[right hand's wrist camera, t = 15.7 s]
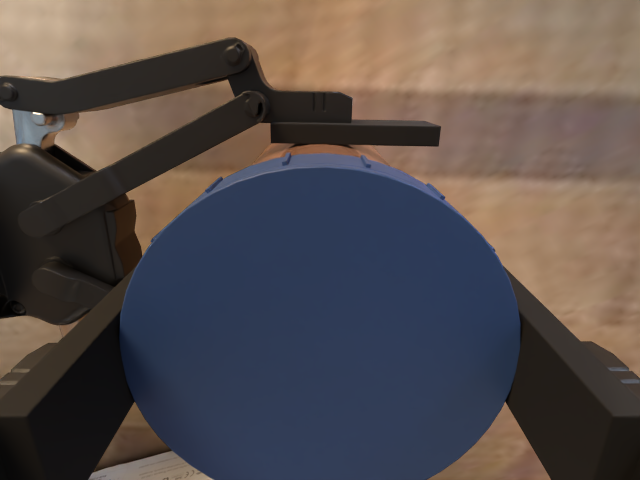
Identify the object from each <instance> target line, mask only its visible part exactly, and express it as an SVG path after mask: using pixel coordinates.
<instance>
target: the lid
mask: <svg viewBox="0 0 640 480" xmlns="http://www.w3.org/2000/svg"><path fill="white" fill-rule="evenodd" d="M151 242H152V243H151V244H150V246H149V247H148V248H147V250H146V252H145V253H144V255H143V257H142V258H141V260H140V262H139V263H138V265H137V266H136V268H135V270H134V273H133V275H132V278H131V280H130V283H129V285H128V287H127V290H126V293H125V298H124V302H123V306H122V310H121V317H120V331H119V342H120V351H121V357H122V362H123V367H124V372H125V376H126V381H127V384H128V386H129V389H130V391H131V394H132V396H133V399H134V401H135V403H136V404H137V406H138V408H139V410H140V411H141V413H142V415H143V417H144V418H145V420H146V421H147V422H148V424H149V425H150V426H151V428H152V429H153V430H154V432H155V433H156V434H157V435H158V437H159V438H160V439H161V440H162V441H163V442H164V443H165V444H166V445H167V446H168V447H169V448H170V449H171V450H172V451H173V452H174V453H175V454H177V455H178V456H179V457H180V458H182V459H183V460H184V461H185V462H187V463H188V464H189V465H191V466H192V467H194V468H195V469H197V470H198V471H200V472H202V473H203V474H205V475H206V476H208V477H210V478H212V479H214V480H427V479H428V478H430V477H432V476H434V475H436V474H437V473H439V472H441V471H442V470H444V469H445V468H447V467H448V466H449V465H451V464H452V463H453V462H455V461H456V460H458V459H459V458H460V457H461V456H462V455H463V454H465V453H466V452H467V451H468V450H469V449H470V448H471V447H472V446H473V445H474V444H475V443H476V442H477V441H478V440H479V439H480V438H481V436H482V435H483V434H484V433H485V432H486V431H487V430H488V428H489V427H490V426H491V424H492V423H493V421H494V420H495V418H496V417H497V415H498V414H499V412H500V411H501V409H502V407H503V405H504V403H505V400H506V398H507V396H508V394H509V392H510V390H511V387H512V384H513V381H514V377H515V372H516V367H517V362H518V357H519V352H520V326H521V325H520V318H519V312H518V306H517V301H516V297H515V294H514V291H513V288H512V285H511V282H510V279H509V277H508V275H507V273H506V271H505V269H504V267H503V266H502V264H501V262H500V260H499V258H498V256H497V255H496V253H495V249H494V248H493V247H492V246H491V245H490V244H489V243H488V242H487V241H486V240H485V238H484V237H483V236H482V235H481V234H480V233H479V232H478V231H477V230H476V229H475V228H474V227H473V226H472V225H471V224H470V223H469V222H468V221H467V220H466V219H465V218H464V217H463V216H462V215H461V214H460V213H459V212H458V211H457V210H456V209H455V208H453V207H452V206H451V205H450V204H449V203H448V202H447V201H446V200H445V196H443V195H442V194H441V193H440V192H439V191H438V190H437V189H436V188H434V187H433V186H432V185H431V184H429V183H428V184H427V185H425V184H424V183H422V182H421V181H419V180H417V179H415V178H413V177H411V176H410V175H408V174H406V173H404V172H402V171H400V170H398V169H395V168H393V167H390V166H387V165H385V164H382V163H379V162H377V161H372V160H368V159H367V157H366V156H365V155H361V158H360V157H355V156H350V155H339V154H329V153H318V154H298V155H292V156H291V153H286V155H285V157H280V158H274V159H271V160H268V161H265V162H261V163H258V164H255V165H252V166H249V167H247V168H245V169H243V170H240V171H238V172H236V173H234V174H232V175H230V176H228V177H226V178H224V179H223V178H222V177H220V178H218V179H217V180H216V181H215V182H214V183H213V184H211V185H210V186H209V187H208V188H207V189H206V190H205V192H204V193H203V194H202V195H200V196H199V197H198V198H197V199H196V200H195V201H194V202H192V203H191V204H190V205H189V206H188V207H187V208H186V209H185V210H184V211H182V212H181V213H180V214H179V215H178V216H177V217H176V218H175V219H174V220H172V221H171V222H170V223H169V224H168V225H167V226H166V227H165V228H164V229H162V230H161V231H160V232H159V233H158V234H157V235H156V236H155V237H154V238H152V240H151Z"/></svg>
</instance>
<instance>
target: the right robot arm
mask: <svg viewBox="0 0 640 480" xmlns="http://www.w3.org/2000/svg"><path fill="white" fill-rule="evenodd" d="M502 266H503V265H502ZM503 267H504V266H503ZM135 268H136V267H135ZM135 268H134V269H133V270H132V271H131V272H130V273H129V274H128V275H127V276H126V277H125V278H124V279H123V280H122V281H121V282H120V283H119V284H118V285H116V286H115V287H114V288H113V289H112V290H111V291H110V292H109V293H108V294H107V295H106V296H105V297H104V298H103V299H102V300H101V301H100V302H99V303H98V304H97V305H96V306H95V307H94V308H93V309H92V310H91V311H90V312H89V313H88V314H87V315H86V316H85V317H84V318H83V319H82V320H81V321H80V322H79V323H78V324H77V325H76V326H75V327H74V328H72V329H71V330H70V331H69V332H68V333H67V334H66V335H65V336H64V337H63V338H62V339H61V340H60V341H59V342H58V343H48V344H46V345H44V346H42V347H41V348H39V349H37V350H35V351H34V352H32V353H30V354H28V355H27V356H26V357H25V358H24V359H23V360H21V361H20V362H19V363H18V364H17V365H16V366H15V367H14V368H13V369H12V370H11V373H7V374H6V375H5V376H4V377H3V378H2V379H1V380H0V480H88V479H89V478H90V476H91V474H92V473H93V471H94V469H95V468H96V466H97V464H98V463H99V461H100V459H101V457H102V456H103V454H104V452H105V451H106V449H107V447H108V446H109V444H110V442H111V440H112V439H113V437H114V435H115V434H116V432H117V430H118V429H119V427H120V425H121V423H122V422H123V420H124V418H125V417H126V415H127V413H128V412H129V410H130V408H131V406H132V405H133V403H134V399H133V396H132V394H131V391H130V389H129V386H128V384H127V381H126V376H125V372H124V367H123V362H122V357H121V351H120V342H119V331H120V317H121V310H122V306H123V302H124V298H125V293H126V290H127V287H128V285H129V283H130V280H131V278H132V275H133V273H134V270H135ZM504 269H505V271H506V273H507V275H508V277H509V279H510V282H511V285H512V288H513V291H514V294H515V297H516V301H517V306H518V312H519V318H520V325H521V326H520V352H519V357H518V362H517V367H516V372H515V377H514V381H513V384H512V387H511V390H510V392H509V394H508V396H507V398H506V400H505V402H506V403H507V405H508V407H509V409H510V410H511V412H512V414H513V415H514V417H515V419H516V420H517V422H518V424H519V426H520V427H521V429H522V431H523V432H524V434H525V436H526V437H527V439H528V441H529V443H530V444H531V446H532V448H533V449H534V451H535V453H536V454H537V456H538V458H539V460H540V461H541V463H542V465H543V466H544V468H545V470H546V471H547V473H548V475H549V476H550V478H551V480H640V378H639V377H638V376H637V375H636V374H635V373H634V372H632V371H629V368H628V367H627V366H626V365H625V364H624V363H623V362H621V361H620V360H619V359H618V358H617V357H616V356H615V355H614V354H612V353H611V352H609V351H607V350H605V349H604V348H602V347H600V346H598V345H597V344H595V343H593V342H581V341H580V340H579V339H577V338H576V337H575V336H574V335H573V334H572V333H571V332H570V331H569V330H568V329H567V328H566V327H565V326H564V325H563V324H562V323H561V322H560V321H559V320H558V319H557V318H556V317H555V316H554V315H553V314H552V313H551V312H550V311H549V310H548V309H547V308H546V307H545V306H544V305H543V304H542V303H541V302H540V301H539V300H538V299H537V298H536V297H535V296H533V295H532V294H531V293H530V292H529V291H528V290H527V289H526V288H525V287H524V286H523V285H522V284H521V283H520V282H519V281H518V280H517V279H516V278H515V277H514V276H513V275H512V274H511V273H510V272H509V271H508V270H507V269H506V268H505V267H504Z"/></svg>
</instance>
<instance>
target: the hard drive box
mask: <svg viewBox="0 0 640 480" xmlns="http://www.w3.org/2000/svg"><path fill="white" fill-rule="evenodd" d="M88 480H214V479H212V478H210V477H208V476H206V475H205V474H203V473H202V472H200V471H198V470H197V469H195V468H194V467H192V466H191V465H189V464H188V463H187V462H185V461H184V460H183V459H182V458H180V457H179V456H178V455H177V454H175V453H174V452H173V451H170V452H166V453H162V454H158V455H155V456H151V457H148V458H144V459H140V460H136V461H133V462H129V463H125V464H119V465H116V466H113V467H108V468H105V469H102V470H99V471H97V472H93V473H92V474H91V476H90V478H89V479H88Z"/></svg>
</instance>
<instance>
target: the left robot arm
mask: <svg viewBox="0 0 640 480" xmlns="http://www.w3.org/2000/svg"><path fill="white" fill-rule="evenodd" d="M224 80H228V81H229V83H230V86H231V88H232V91H233V93H234V96H235V98H234V99H232V100H230V101H228V102H226V103H224V104H223V105H221V106H219V107H217V108H215V109H213V110H211V111H210V112H208V113H206V114H204V115H202V116H200V117H199V118H197V119H195V120H193V121H191V122H189V123H187V124H186V125H184V126H182V127H180V128H178V129H176V130H174V131H173V132H171V133H169V134H167V135H165V136H163V137H162V138H160V139H158V140H156V141H154V142H152V143H150V144H149V145H147V146H145V147H143V148H141V149H139V150H138V151H136V152H134V153H132V154H130V155H128V156H126V157H125V158H123V159H121V160H119V161H117V162H115V163H113V164H112V165H110V166H107V167H105V168H103V169H101V170H99V171H96V170H94V169H93V168H91V167H90V166H88V165H87V164H85V163H84V162H82V161H81V160H79V159H77V158H76V157H74V156H73V155H71V154H70V153H68V152H67V151H65V150H64V149H62V148H61V147H59V146H58V145H56V144H54V139H55V136H56V135H57V134H58V133H59V132H60V131H64V130H70V129H72V128H73V127H74V126H75V125H76V123H77V120H78V119H79V112H88V111H98V110H104V109H109V108H113V107H117V106H121V105H125V104H130V103H134V102H138V101H142V100H146V99H150V98H154V97H158V96H163V95H167V94H171V93H175V92H179V91H183V90H187V89H191V88H196V87H200V86H204V85H208V84H212V83H216V82H220V81H224ZM0 105H2V106H3V107H5V108H8V109H12V111H13V119H14V127H15V135H16V143H17V144H16V145H13V146H11V147H9V148H8V149H6V150H5V151H3V152H0V319H2V318H9V317H16V316H32V317H36V318H39V319H41V320H43V321H46V322H48V323H50V324H53V325H59V327H60V330H61V333H62V335H63V337H64V336H65V335H66V334H67V333H68V332H69V331H70V330H71V329H72V328H74V327H75V326H76V325H77V324H78V323H79V322H80V321H81V320H82V319H83V318H84V317H85V316H86V315H87V314H88V313H89V312H90V311H91V310H92V309H93V308H94V307H95V306H96V305H97V304H98V303H99V302H100V301H101V300H102V299H103V298H104V297H105V296H106V295H107V294H108V293H109V292H110V291H111V290H112V289H113V288H114V287H115V286H116V285H118V284H119V283H120V282H121V281H122V280H123V279H124V278H125V277H126V276H127V275H128V274H129V273H130V272H131V271H132V270H133V269H134V268H135V267H136V266H137V265H138V263H139V262H140V260H141V258H142V251H141V246H140V243H139V241H138V239H137V236H136V234H135V231H134V229H135V222H136V209H135V202H134V200H129V199H128V197H127V195H126V194H125V193H126V192H128V191H130V190H132V189H134V188H136V187H138V186H140V185H142V184H144V183H145V182H147V181H149V180H151V179H153V178H155V177H157V176H159V175H161V174H163V173H165V172H166V171H168V170H170V169H172V168H174V167H176V166H178V165H180V164H182V163H184V162H185V161H187V160H189V159H191V158H193V157H195V156H197V155H199V154H201V153H203V152H205V151H206V150H208V149H210V148H212V147H214V146H216V145H218V144H220V143H222V142H224V141H226V140H227V139H229V138H231V137H233V136H235V135H237V134H239V133H241V132H243V131H245V130H246V129H248V128H250V127H252V126H254V125H256V124H258V123H271V143H281V144H335V145H389V146H439V138H440V130H441V126H438V125H435V124H432V123H429V122H426V121H398V120H351V119H352V97H349V96H347V95H345V94H343V93H341V92H327V91H282V90H277V89H275V88H273V87H272V86H270V85H269V83H268V82H267V81H266V79H265V77H264V74H263V71H262V68H261V66H260V63H259V58H258V54H257V52H256V50H255V49H254V48H253V47H252V46H250V45H248V44H247V43H245V42H243V41H242V40H240V39H237V38H225V39H221V40H217V41H213V42H209V43H205V44H201V45H197V46H193V47H189V48H185V49H181V50H177V51H173V52H169V53H165V54H161V55H157V56H153V57H149V58H145V59H141V60H137V61H133V62H129V63H125V64H121V65H117V66H114V67H110V68H106V69H102V70H98V71H94V72H90V73H86V74H82V75H78V76H74V77H70V78H66V79H57V78H49V77H30V76H0Z"/></svg>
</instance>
